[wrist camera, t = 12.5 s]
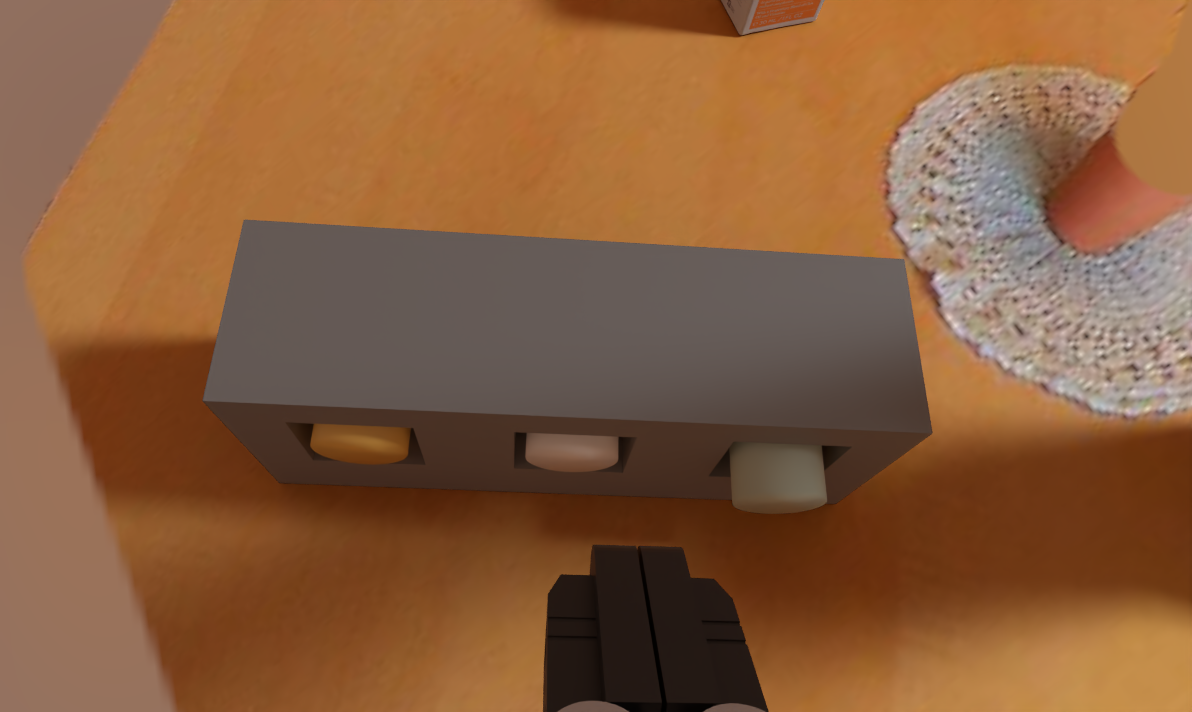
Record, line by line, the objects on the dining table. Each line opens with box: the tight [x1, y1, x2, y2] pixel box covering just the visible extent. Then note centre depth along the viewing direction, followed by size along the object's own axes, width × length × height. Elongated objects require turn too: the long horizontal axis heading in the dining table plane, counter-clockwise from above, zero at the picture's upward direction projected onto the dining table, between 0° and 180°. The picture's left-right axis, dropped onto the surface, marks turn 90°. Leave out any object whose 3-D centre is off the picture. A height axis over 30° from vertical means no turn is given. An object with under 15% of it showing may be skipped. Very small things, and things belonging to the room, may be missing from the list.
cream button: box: [525, 433, 618, 472], centre depth 37 cm, size 4×6×4 cm, turn 179°
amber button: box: [310, 424, 411, 465], centre depth 36 cm, size 4×6×4 cm, turn 179°
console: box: [203, 220, 932, 504], centre depth 38 cm, size 28×8×11 cm, turn 89°
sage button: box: [729, 442, 827, 514], centre depth 37 cm, size 4×6×4 cm, turn 179°
